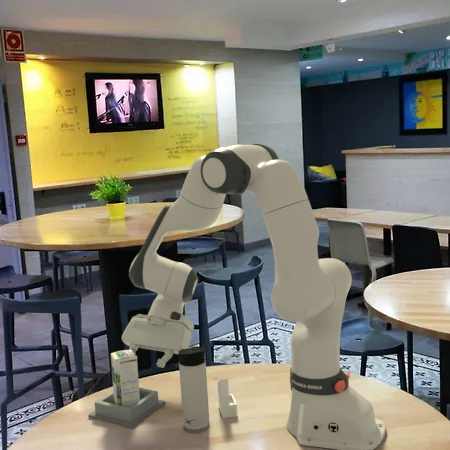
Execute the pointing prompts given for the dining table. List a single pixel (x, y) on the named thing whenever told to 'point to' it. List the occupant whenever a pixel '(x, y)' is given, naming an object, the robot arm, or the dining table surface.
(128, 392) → the syrup box
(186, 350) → the travel mug
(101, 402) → the holder
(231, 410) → the white angled block
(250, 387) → the dining table surface
